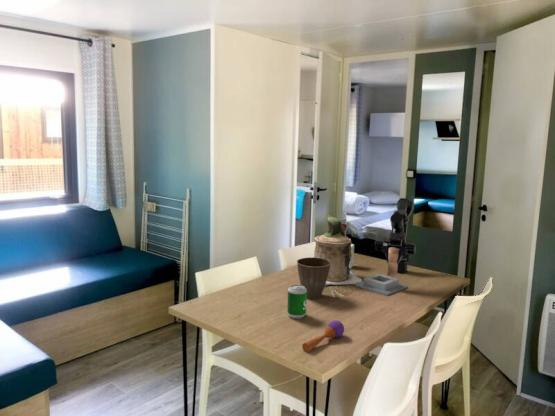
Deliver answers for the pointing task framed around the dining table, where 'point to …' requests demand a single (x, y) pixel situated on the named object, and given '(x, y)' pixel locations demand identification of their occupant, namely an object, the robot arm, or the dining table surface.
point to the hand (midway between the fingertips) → (392, 262)
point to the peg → (392, 262)
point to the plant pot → (313, 275)
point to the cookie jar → (336, 253)
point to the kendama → (325, 335)
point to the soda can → (297, 301)
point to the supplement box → (352, 256)
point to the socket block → (381, 284)
